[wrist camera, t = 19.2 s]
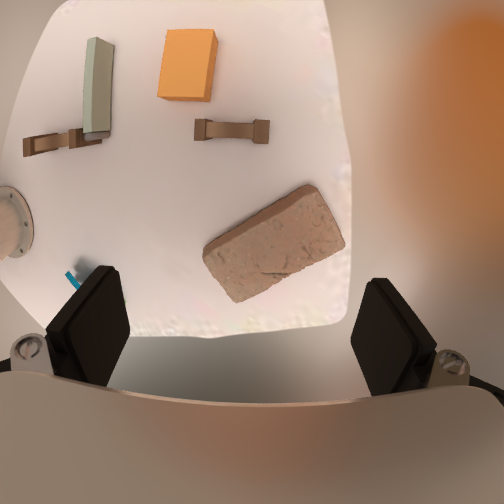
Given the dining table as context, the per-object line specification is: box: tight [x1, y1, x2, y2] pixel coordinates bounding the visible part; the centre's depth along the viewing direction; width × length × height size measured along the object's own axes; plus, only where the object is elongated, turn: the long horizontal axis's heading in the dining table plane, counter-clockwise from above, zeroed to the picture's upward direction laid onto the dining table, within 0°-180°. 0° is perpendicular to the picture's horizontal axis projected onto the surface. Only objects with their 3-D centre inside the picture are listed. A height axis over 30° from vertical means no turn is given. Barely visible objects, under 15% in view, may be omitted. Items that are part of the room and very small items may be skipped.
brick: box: [203, 185, 345, 303], centre depth 36 cm, size 17×8×5 cm, turn 122°
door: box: [83, 37, 114, 141], centre depth 26 cm, size 13×2×5 cm, turn 178°
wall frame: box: [23, 119, 270, 157], centre depth 28 cm, size 30×2×6 cm, turn 87°
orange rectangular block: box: [157, 29, 218, 102], centre depth 26 cm, size 5×8×5 cm, turn 173°
